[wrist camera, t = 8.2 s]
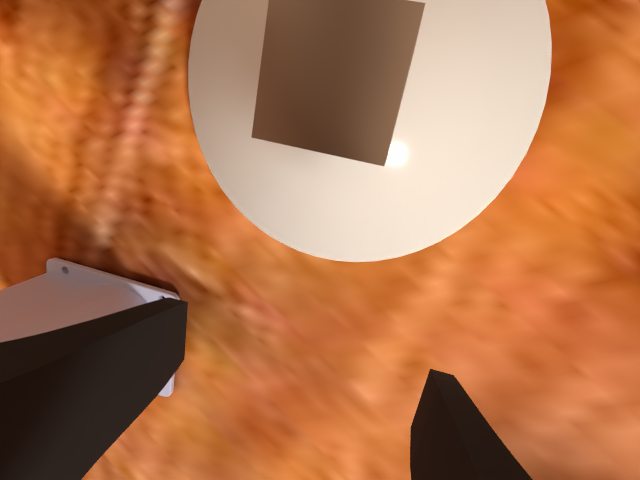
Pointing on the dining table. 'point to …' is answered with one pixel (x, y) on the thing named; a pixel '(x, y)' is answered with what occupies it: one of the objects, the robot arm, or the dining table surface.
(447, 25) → the white plate
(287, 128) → the walnut block
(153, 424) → the dining table surface
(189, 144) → the dining table surface
